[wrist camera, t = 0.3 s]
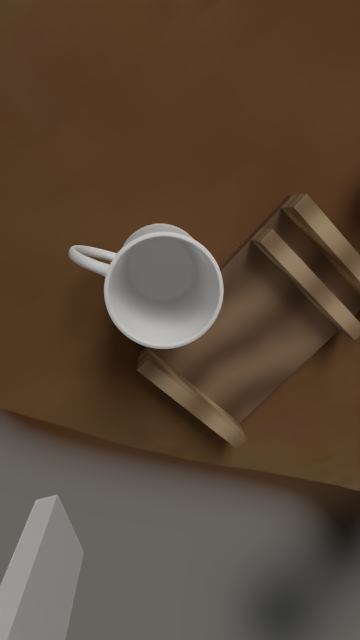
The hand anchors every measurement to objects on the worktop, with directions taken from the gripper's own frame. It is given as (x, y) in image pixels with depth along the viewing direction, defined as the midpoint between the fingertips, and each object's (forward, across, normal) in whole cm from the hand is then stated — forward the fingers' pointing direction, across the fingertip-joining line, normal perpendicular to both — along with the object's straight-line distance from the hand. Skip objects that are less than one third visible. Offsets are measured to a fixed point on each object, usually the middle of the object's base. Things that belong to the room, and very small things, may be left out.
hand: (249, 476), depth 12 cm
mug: (+25, -3, +5) cm, 26 cm away
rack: (+25, +7, -4) cm, 26 cm away
